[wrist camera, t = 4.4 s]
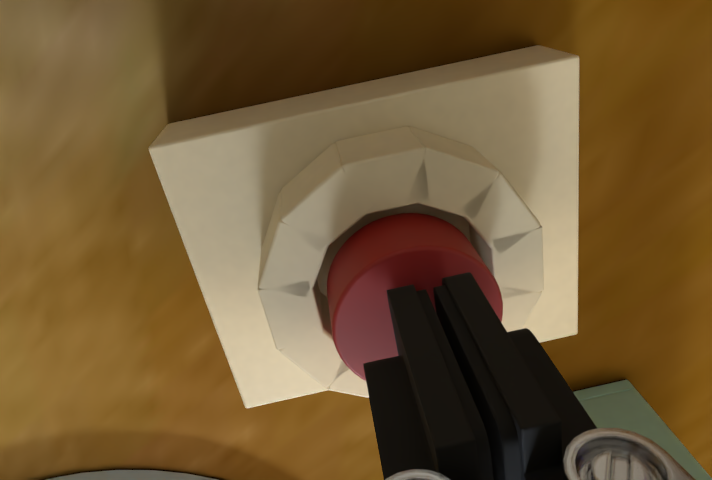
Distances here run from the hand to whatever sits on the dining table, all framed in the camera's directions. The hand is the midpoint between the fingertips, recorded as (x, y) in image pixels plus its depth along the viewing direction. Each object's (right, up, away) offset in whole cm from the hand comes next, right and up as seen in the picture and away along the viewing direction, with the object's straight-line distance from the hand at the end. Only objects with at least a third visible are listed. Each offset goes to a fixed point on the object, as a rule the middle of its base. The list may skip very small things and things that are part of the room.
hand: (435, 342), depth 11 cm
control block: (-1, +3, +5) cm, 6 cm away
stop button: (0, +1, +2) cm, 2 cm away
